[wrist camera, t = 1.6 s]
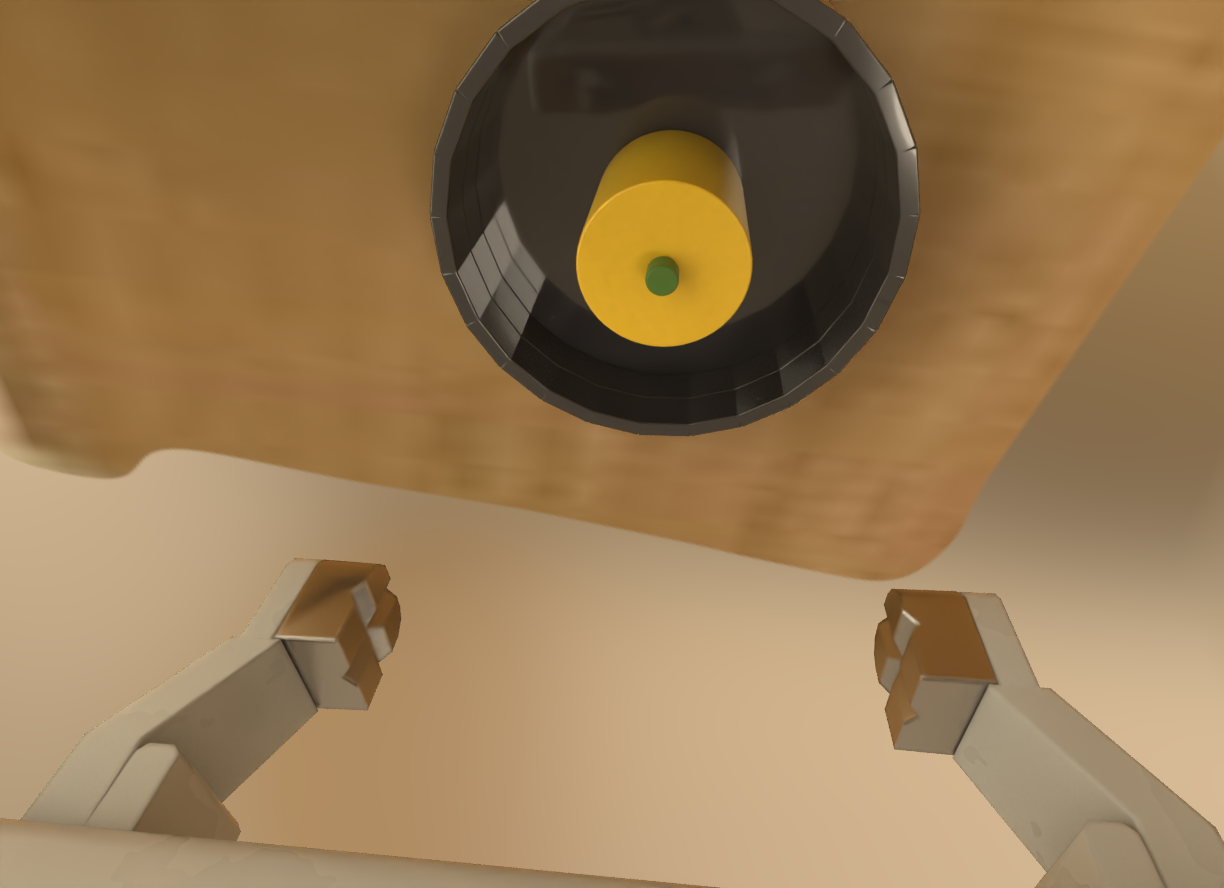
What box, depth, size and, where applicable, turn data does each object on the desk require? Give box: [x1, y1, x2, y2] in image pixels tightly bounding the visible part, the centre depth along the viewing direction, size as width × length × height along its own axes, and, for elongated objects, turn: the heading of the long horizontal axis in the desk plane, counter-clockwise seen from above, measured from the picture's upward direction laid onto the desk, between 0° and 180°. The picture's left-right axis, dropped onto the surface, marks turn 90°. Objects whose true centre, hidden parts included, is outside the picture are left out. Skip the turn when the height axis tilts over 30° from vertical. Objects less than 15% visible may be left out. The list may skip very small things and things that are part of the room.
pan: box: [430, 0, 920, 436], centre depth 24 cm, size 16×16×4 cm
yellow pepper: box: [576, 130, 753, 347], centre depth 23 cm, size 5×5×6 cm
